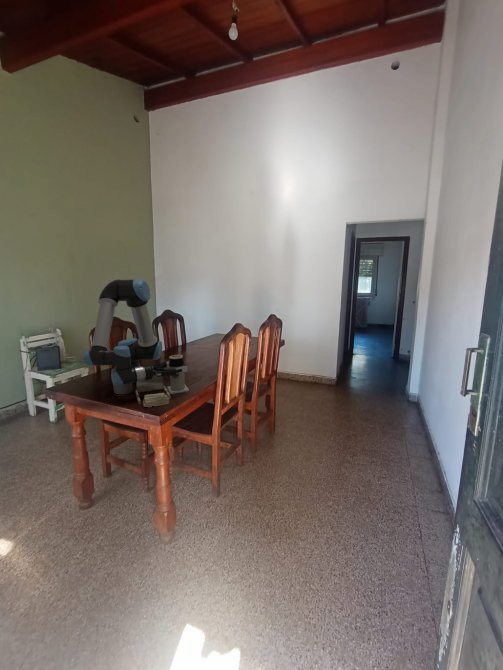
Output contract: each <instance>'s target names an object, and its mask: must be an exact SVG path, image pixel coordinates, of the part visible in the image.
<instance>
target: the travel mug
mask: <svg viewBox="0 0 503 670" xmlns="http://www.w3.org/2000/svg"><path fill="white" fill-rule="evenodd" d="M183 357H184V356H183V355H182V354H174V355H173V354H172V355H170V356H169V357H168V358H169V361H170V362H169V369H175V368H180V367H185V362H184V360H183ZM185 376H186V375H185V372H182V373H177V374H176V376H175V375H173V376H170V379H169V384H170V385H169V386H170V388H171V389H173V390H181V389H183V388H185V385H186V381H185V380H186V379H185V378H186V377H185Z"/></svg>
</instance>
